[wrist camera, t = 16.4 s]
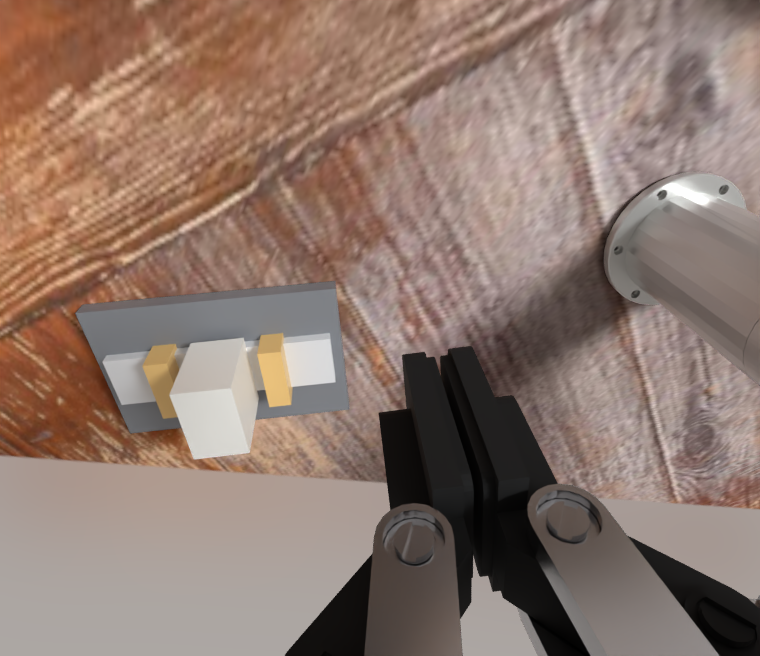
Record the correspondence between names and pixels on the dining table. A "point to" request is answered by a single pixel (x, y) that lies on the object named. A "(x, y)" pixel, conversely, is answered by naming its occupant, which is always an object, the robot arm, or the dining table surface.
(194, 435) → the block
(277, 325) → the rail board
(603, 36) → the dining table surface
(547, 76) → the dining table surface
